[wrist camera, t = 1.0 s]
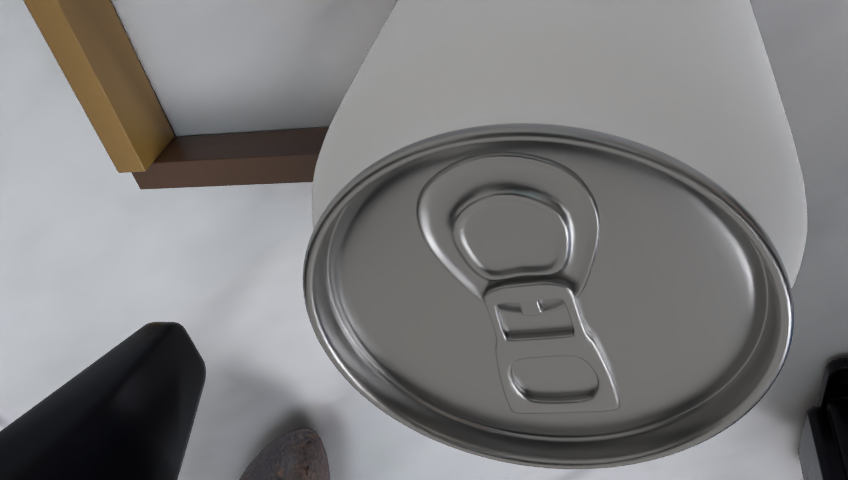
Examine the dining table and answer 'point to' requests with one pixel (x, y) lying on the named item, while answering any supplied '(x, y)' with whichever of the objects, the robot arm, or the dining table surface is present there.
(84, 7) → the brown wooden bent bar
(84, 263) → the dining table surface
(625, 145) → the can
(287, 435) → the perforated stone tool
